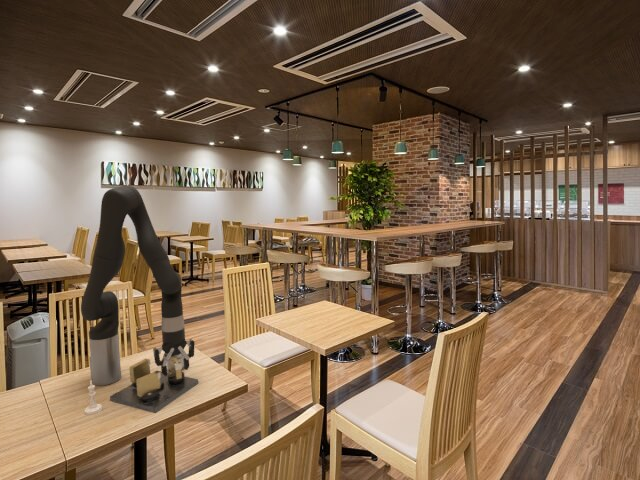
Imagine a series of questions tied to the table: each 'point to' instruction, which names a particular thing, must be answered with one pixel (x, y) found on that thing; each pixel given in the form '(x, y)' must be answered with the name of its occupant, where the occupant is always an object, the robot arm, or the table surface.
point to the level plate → (165, 396)
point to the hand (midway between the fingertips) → (175, 371)
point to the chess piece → (92, 401)
